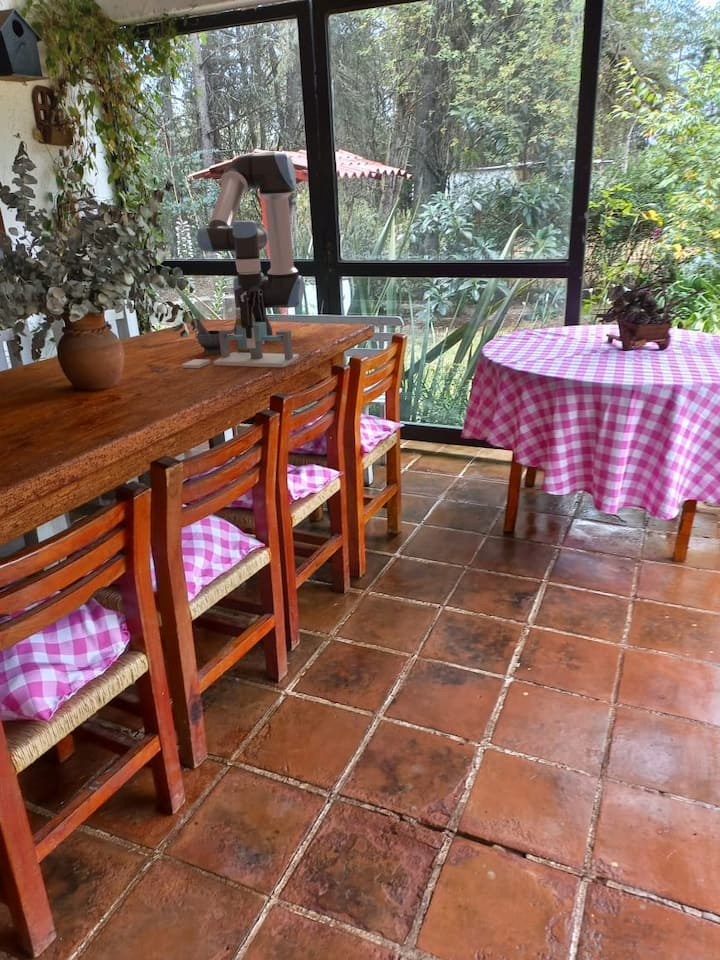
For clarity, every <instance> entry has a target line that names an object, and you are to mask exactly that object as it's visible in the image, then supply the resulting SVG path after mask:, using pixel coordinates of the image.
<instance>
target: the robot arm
mask: <svg viewBox="0 0 720 960" xmlns="http://www.w3.org/2000/svg"><path fill="white" fill-rule="evenodd" d="M222 172H223V173H222V174H221V177H220V182H219V183H220V186H221V187H220V190H219V193H218V197H217V199H216V202H215V204H214V208H213V211H212V213H211V217H210V220H209V223H208V226H204V227H200V228H198V230H197V232H196V240H197V245H198V247H199V250H201V251H202V252H205V253H207V252H210V253H217V252H234V255H235V266H236V272H237V273H238V274H237V275H236V277H235V278H234V279H233V281H232V283H233V290H232V291H233V297H234V305H235V309H236V308H239V307H240V315H241V326H242V328H245V331H246V341H247V348H256V345H255V334H254V328H252V323H253V315H254V319H255V322H266V328H267V336H273V334H274V333H273V328H272V325H271V322H270V320H269V317H268V316H267V309H275V308H276V309H281V308H282V309H283V308H284V309H289V308H298V307H299V306H300V305H301V304H302V302H303V297H304V288H305V285H304V284H305V282H304V276H302V275H299V269H297V268H296V266H295V265H294V254H293V251H294V250H293V239H292V230H291V229H292V227H291V215H290V203H289V199H290V198H289V197H290V196H291V195H292V193H293V188H295V187H296V186H297V176H296V169H295V165H294V162H293V159H292V157H291V155H290V154H289V153H287V152H285V151H284V152H283V151H272V152H270V151H269V152H254V153H252V152H251V153H250V152H249V153H248V152H247V153H245V154H241V155H239V156H237V157H236V158H234V159H233V160H232V161H231V162H230V163H229V164H228V165H227V166H226V168H224V170H223V171H222ZM255 189H257V190H258V189H259V190H258V191H259V196H261V198H263V199H264V207H265V219H266V228H267V229H265V228H264V227H263V226H261V225H257V224H258V223H257V221H256V220H253V219H251V220H236V218H237V217H236V216H237V215H238V214H237V213H238V211H239V207H240V204H241V201H242V197H243V195H246V193H247V192H248V190H255ZM235 220H236V221H235ZM267 245H268V249H269V250H268V251H269V261H270V269H268V271H267V276H265V275H264V273H263V272H262V268H261V265H262V264H261V256H260V251H261V250H262V249H264V248H265V247H266V246H267ZM235 322H236V320H235ZM233 329H234V333H233V335H237V333H236V323H234V328H233ZM264 344H265V340H262V345H264Z"/></svg>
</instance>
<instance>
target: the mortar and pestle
mask: <svg viewBox="0 0 720 960" xmlns="http://www.w3.org/2000/svg"><path fill="white" fill-rule="evenodd" d="M195 319H196V322H197V328H196V329H197V331H198V332H197V334H196V335H197V337H196V338H197V341H198V343H199V345H200V347H202V348H203V349H204V354H205V355H217V354H221V353H220V352H221V349H220V340H219V330H220V329H218V330H217V329H216V330H214V329H213V330H208V329H206V327H205V326H204V324H203V323H202V322H201V319H200V318H199V317H197V318H195Z"/></svg>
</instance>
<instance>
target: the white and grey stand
mask: <svg viewBox="0 0 720 960" xmlns="http://www.w3.org/2000/svg"><path fill="white" fill-rule="evenodd" d="M218 330H219V340H220V349H221V353H220V355H221V356H220V357H219V358H218V359H216V360H214V361H213V366H228V367H230V366H232V367H254V368H255V367H257V368H258V367H259V368H261V367H262V368H284V367H286V366H288V365H290V364H292V363H293V362H295V361H296V360H298V359H300V354H299V353H293V342H292V341H293V340H292V330H290V329H278V330H276V331H275V336H283V340H282V341H283V353H274V352H273V353H269V352H268V353H267V352H263V344H262V341H260V342H255V345H256V348H250V353H240V352H239V351H237V352H236V351H233V352H231V353H230V346H229V345H230V344H229V340H227V336H228V335H233V334H234V328H221V329H218Z"/></svg>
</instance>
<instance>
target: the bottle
mask: <svg viewBox="0 0 720 960" xmlns="http://www.w3.org/2000/svg"><path fill="white" fill-rule="evenodd" d="M235 321H236V322H235V323H236V333H237V335H242V327H241V315H240V307H239V308H236V307H235ZM253 322H255V319H254V315H253ZM235 323H234V324H235ZM236 342H237V350H238V351H237V352H241V353H250V348H247V341H243V340H236Z"/></svg>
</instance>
